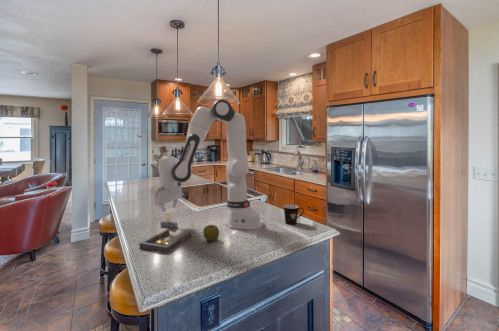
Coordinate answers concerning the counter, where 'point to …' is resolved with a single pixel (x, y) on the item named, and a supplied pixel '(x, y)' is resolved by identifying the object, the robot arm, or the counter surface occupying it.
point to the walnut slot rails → (182, 239)
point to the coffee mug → (291, 214)
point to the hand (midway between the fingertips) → (169, 209)
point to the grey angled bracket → (155, 247)
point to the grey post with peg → (169, 221)
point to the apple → (211, 232)
